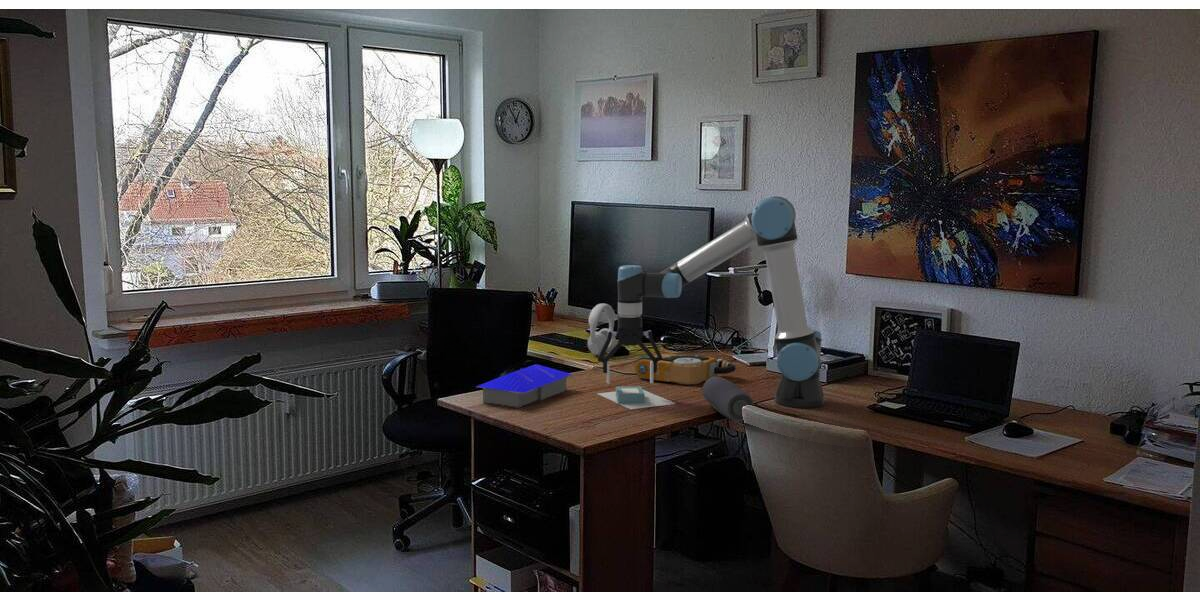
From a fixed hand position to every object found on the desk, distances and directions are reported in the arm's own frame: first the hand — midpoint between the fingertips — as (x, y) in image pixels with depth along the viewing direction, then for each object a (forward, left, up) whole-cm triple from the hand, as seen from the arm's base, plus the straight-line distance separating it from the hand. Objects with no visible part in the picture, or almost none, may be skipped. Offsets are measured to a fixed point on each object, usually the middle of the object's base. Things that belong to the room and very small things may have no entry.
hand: (629, 383), depth 304 cm
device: (+19, -33, -6) cm, 38 cm away
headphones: (+68, -26, -6) cm, 73 cm away
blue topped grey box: (+19, +27, -6) cm, 34 cm away
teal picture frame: (+3, -1, -3) cm, 5 cm away
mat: (-1, -2, -5) cm, 6 cm away
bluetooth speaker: (-29, -17, -6) cm, 34 cm away
